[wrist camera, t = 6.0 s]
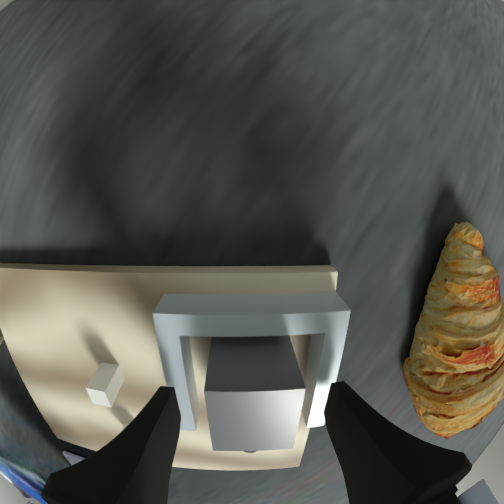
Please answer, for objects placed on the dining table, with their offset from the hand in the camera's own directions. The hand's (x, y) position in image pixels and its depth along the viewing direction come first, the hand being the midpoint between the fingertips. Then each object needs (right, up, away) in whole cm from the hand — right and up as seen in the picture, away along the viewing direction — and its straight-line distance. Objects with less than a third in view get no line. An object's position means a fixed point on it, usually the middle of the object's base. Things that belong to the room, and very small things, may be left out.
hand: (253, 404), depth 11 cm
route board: (-7, -2, +4) cm, 9 cm away
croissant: (+15, -1, +6) cm, 16 cm away
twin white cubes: (-8, -3, +4) cm, 9 cm away
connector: (0, -1, +3) cm, 3 cm away
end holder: (0, +1, +3) cm, 3 cm away
